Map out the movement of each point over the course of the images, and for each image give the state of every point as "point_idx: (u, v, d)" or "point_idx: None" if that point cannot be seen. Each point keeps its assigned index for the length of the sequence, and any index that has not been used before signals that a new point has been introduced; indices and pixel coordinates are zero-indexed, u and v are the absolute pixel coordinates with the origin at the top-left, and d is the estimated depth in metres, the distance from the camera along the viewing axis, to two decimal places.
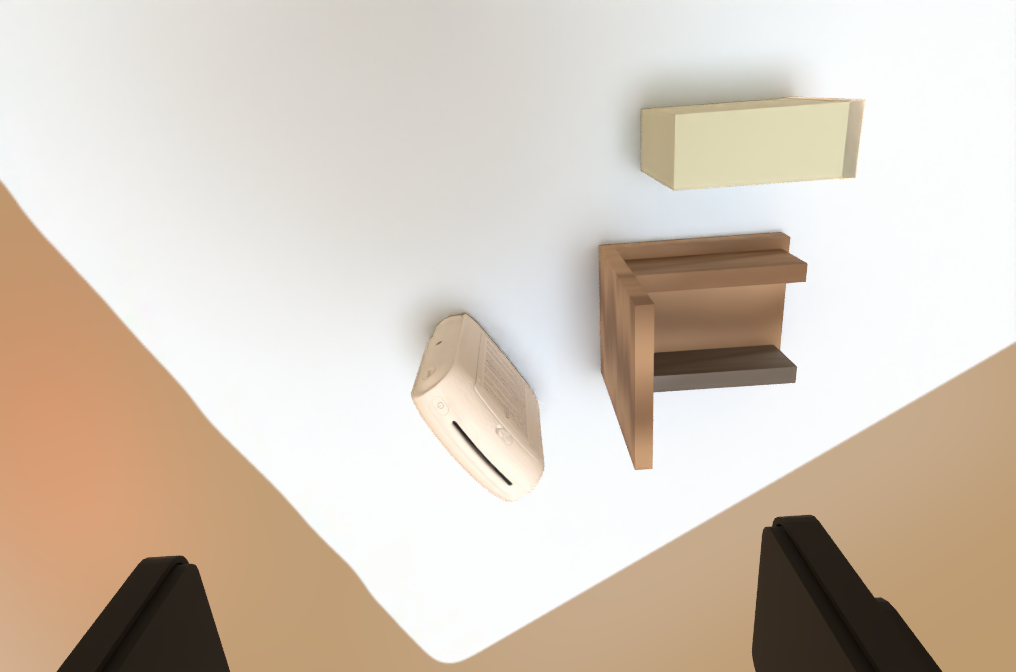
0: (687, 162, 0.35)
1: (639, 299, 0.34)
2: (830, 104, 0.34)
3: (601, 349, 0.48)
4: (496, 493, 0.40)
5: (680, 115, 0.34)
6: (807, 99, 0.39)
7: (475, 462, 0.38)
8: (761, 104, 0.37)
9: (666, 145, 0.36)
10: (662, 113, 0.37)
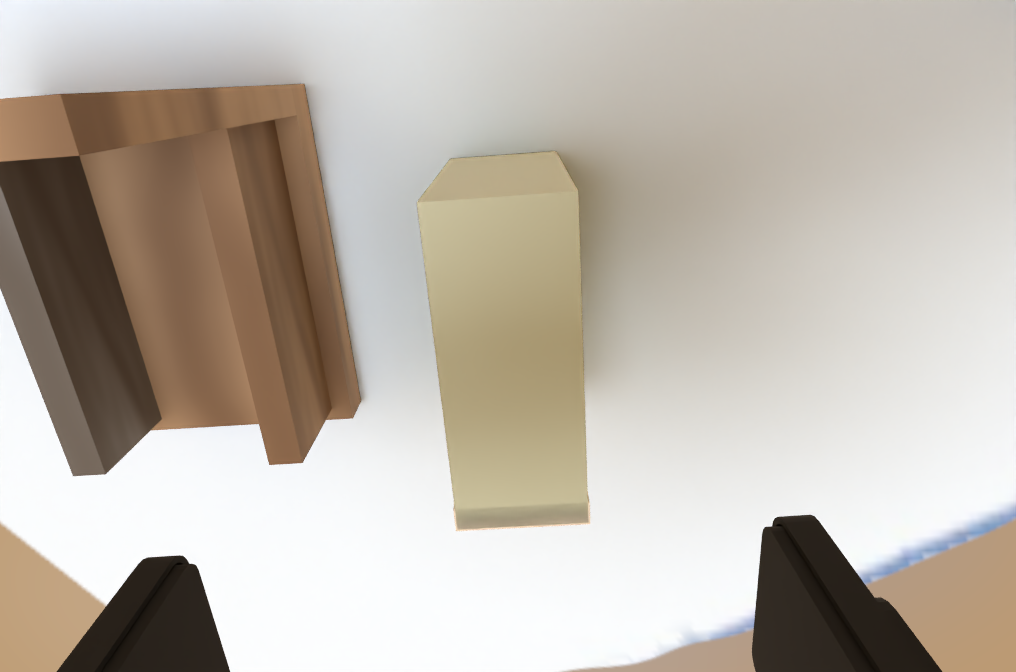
0: (478, 227, 0.16)
1: (102, 117, 0.12)
2: (584, 473, 0.19)
3: None
4: None
5: (576, 202, 0.16)
6: None
7: None
8: None
9: (508, 184, 0.18)
10: (566, 174, 0.18)
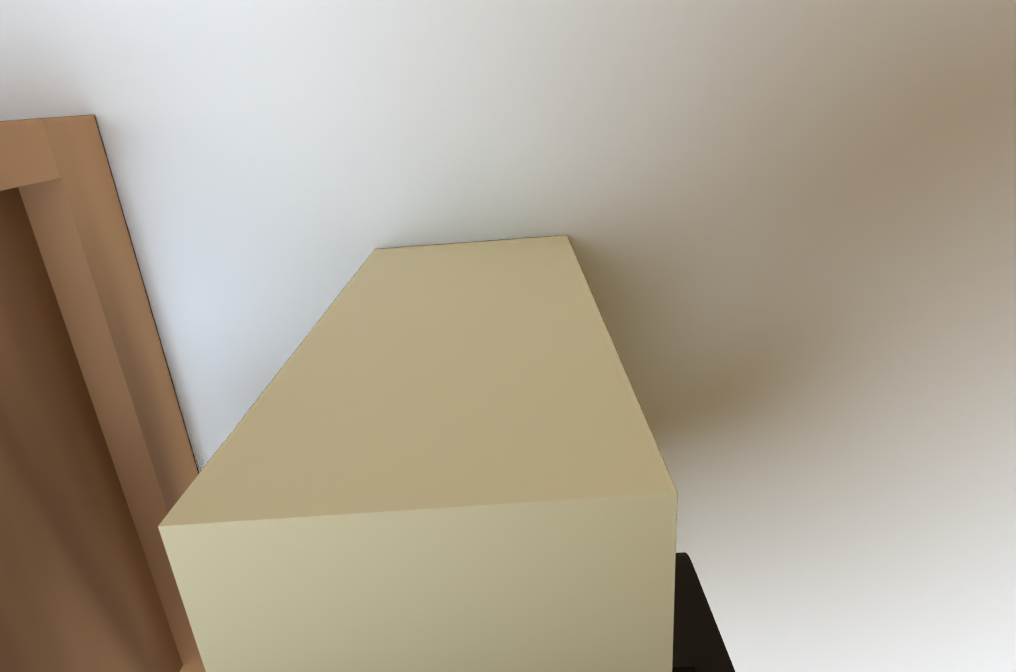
0: (363, 589, 0.05)
1: None
2: None
3: None
4: None
5: (668, 522, 0.05)
6: None
7: None
8: None
9: (463, 397, 0.07)
10: (609, 345, 0.08)
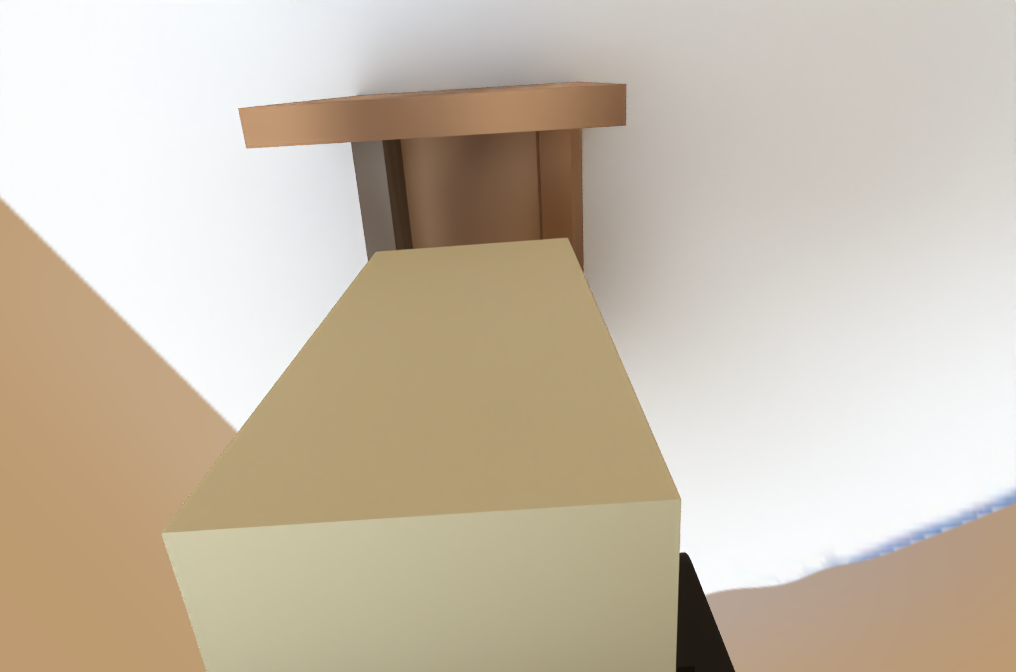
0: (365, 595, 0.05)
1: None
2: None
3: None
4: None
5: (672, 528, 0.05)
6: None
7: None
8: None
9: (466, 403, 0.07)
10: (611, 350, 0.08)
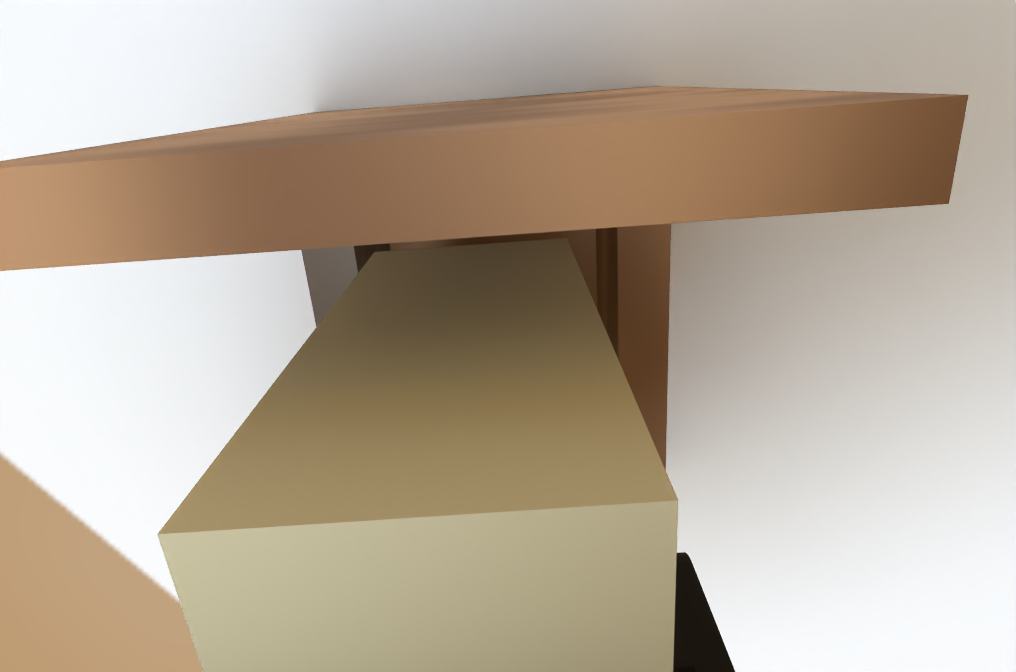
0: (363, 596, 0.05)
1: None
2: None
3: (380, 107, 0.18)
4: None
5: (669, 529, 0.05)
6: None
7: None
8: None
9: (463, 403, 0.07)
10: (609, 350, 0.08)
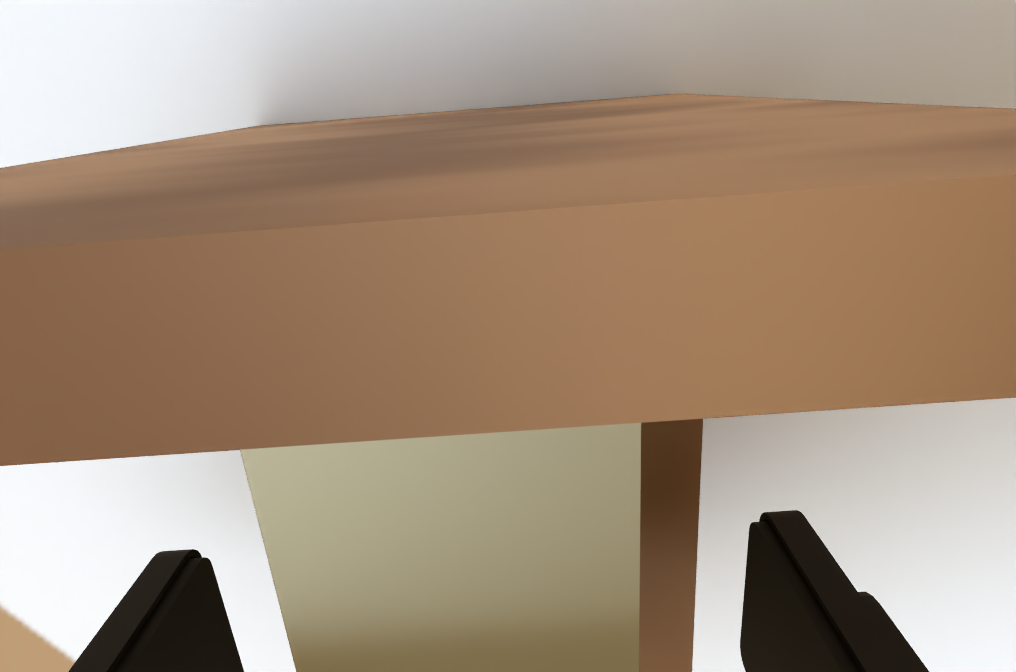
0: (393, 480, 0.07)
1: None
2: None
3: (339, 120, 0.15)
4: None
5: (634, 425, 0.06)
6: None
7: None
8: None
9: None
10: None
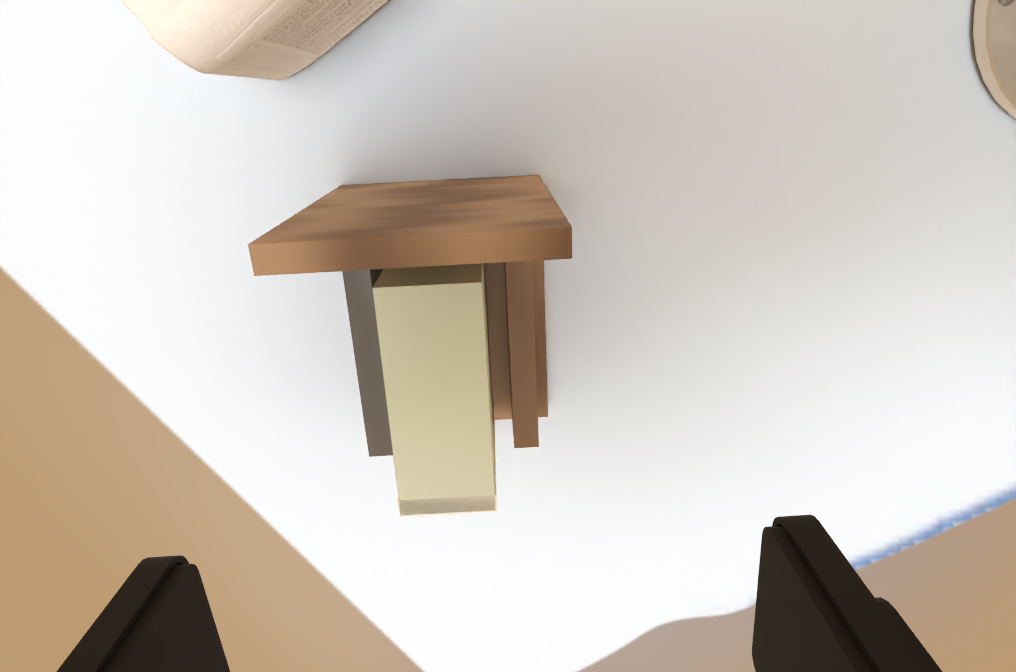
0: (414, 304, 0.24)
1: None
2: (491, 474, 0.26)
3: (381, 184, 0.32)
4: None
5: (480, 289, 0.24)
6: (493, 434, 0.32)
7: None
8: None
9: (437, 271, 0.25)
10: None
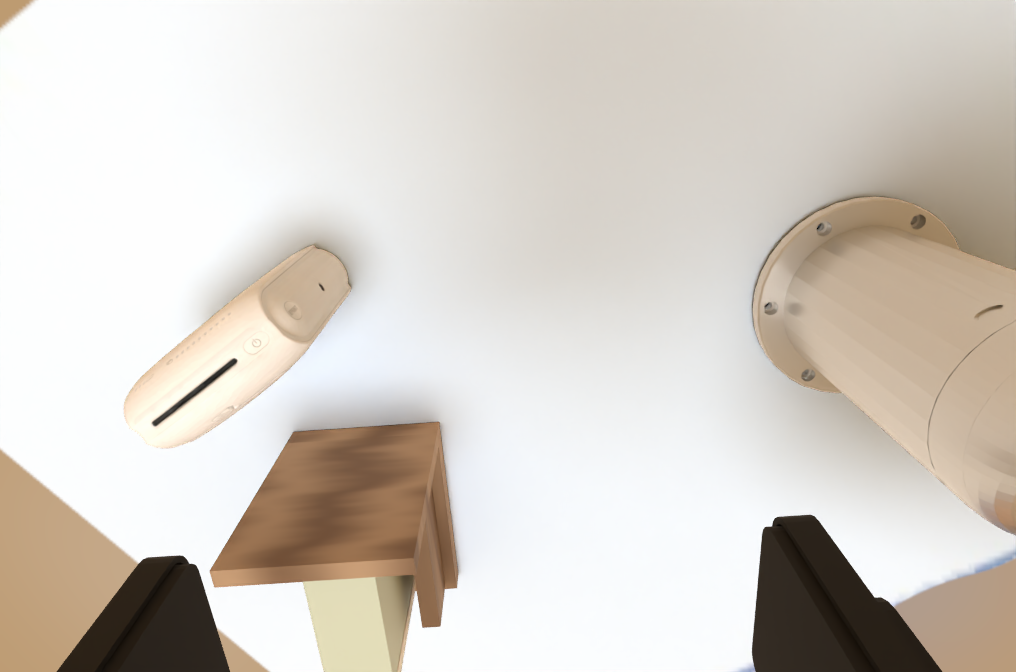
0: None
1: (417, 551, 0.32)
2: None
3: (322, 433, 0.43)
4: (135, 405, 0.30)
5: None
6: (406, 618, 0.43)
7: (180, 389, 0.29)
8: (396, 596, 0.40)
9: None
10: None
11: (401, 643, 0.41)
